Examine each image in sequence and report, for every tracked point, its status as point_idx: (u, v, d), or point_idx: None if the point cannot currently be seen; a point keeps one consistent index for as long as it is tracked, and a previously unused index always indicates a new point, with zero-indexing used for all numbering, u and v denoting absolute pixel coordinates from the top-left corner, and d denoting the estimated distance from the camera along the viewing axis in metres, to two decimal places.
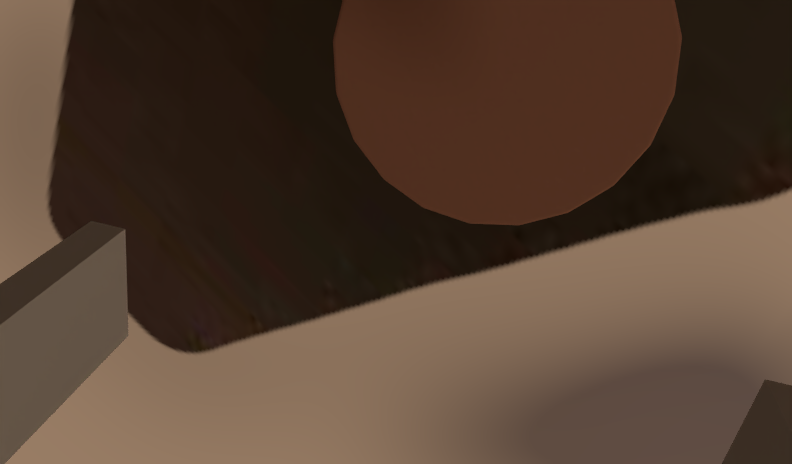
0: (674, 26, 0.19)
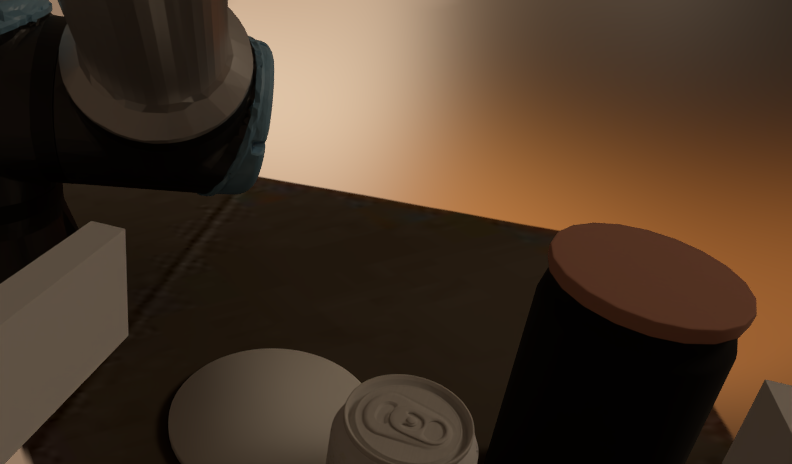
0: (640, 229, 0.40)
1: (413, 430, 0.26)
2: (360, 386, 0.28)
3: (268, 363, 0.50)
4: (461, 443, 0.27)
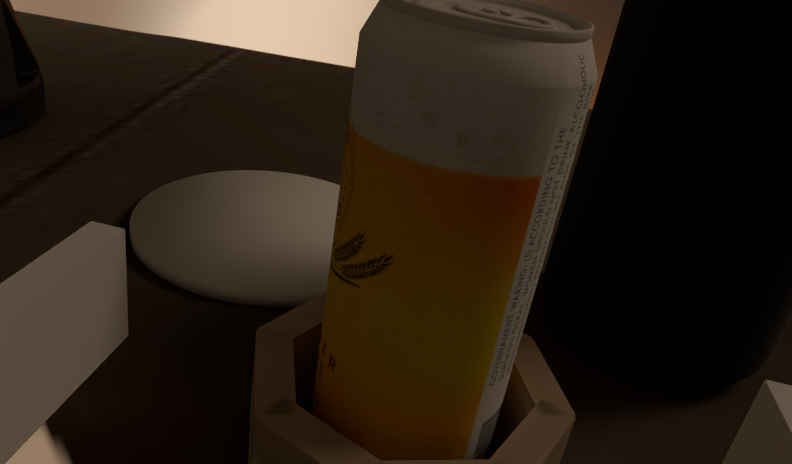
0: None
1: (497, 15, 0.16)
2: None
3: (261, 182, 0.40)
4: None
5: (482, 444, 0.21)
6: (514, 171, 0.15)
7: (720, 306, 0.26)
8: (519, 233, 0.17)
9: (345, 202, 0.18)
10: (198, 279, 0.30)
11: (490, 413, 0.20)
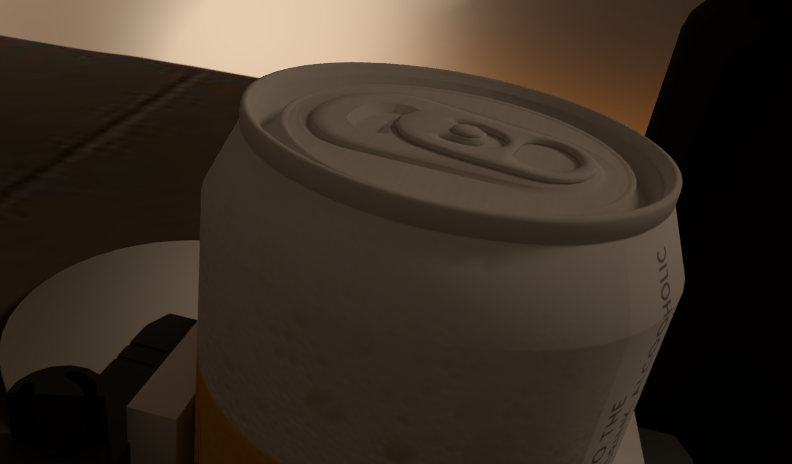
0: None
1: (478, 149, 0.08)
2: (308, 68, 0.09)
3: (195, 258, 0.32)
4: (636, 195, 0.08)
5: None
6: None
7: None
8: None
9: None
10: None
11: None
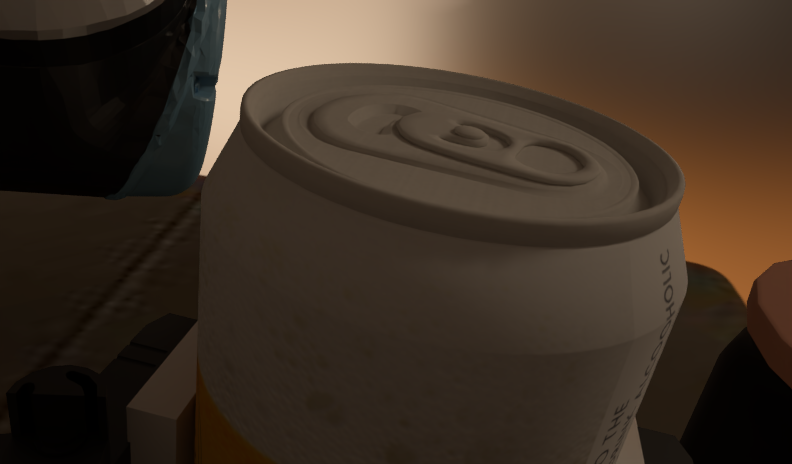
0: None
1: (481, 150, 0.08)
2: (308, 69, 0.09)
3: None
4: (639, 197, 0.08)
5: None
6: None
7: None
8: None
9: None
10: None
11: None
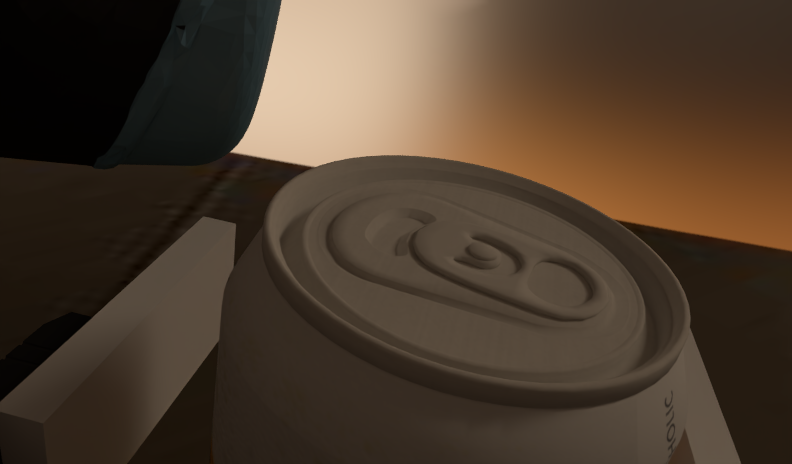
0: None
1: (494, 277, 0.08)
2: (325, 168, 0.10)
3: None
4: (645, 323, 0.08)
5: None
6: None
7: None
8: None
9: None
10: None
11: None
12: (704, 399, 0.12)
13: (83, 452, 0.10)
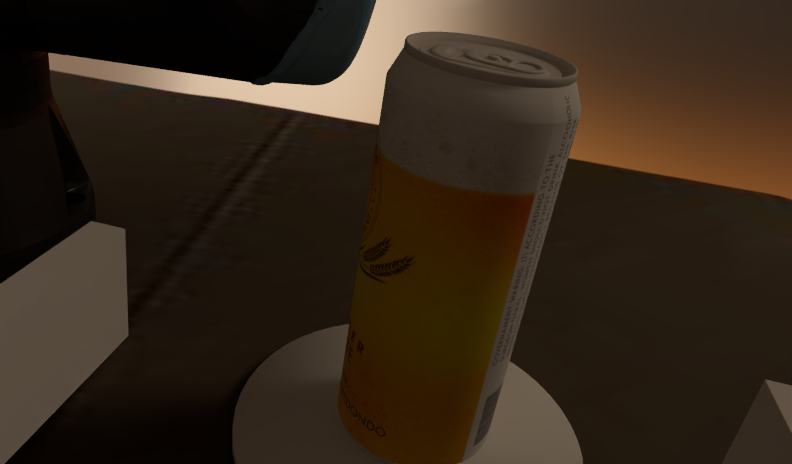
0: None
1: (499, 62, 0.20)
2: (422, 33, 0.22)
3: None
4: None
5: (486, 416, 0.24)
6: (513, 189, 0.19)
7: None
8: (517, 239, 0.20)
9: (373, 213, 0.21)
10: None
11: (493, 389, 0.24)
12: None
13: None
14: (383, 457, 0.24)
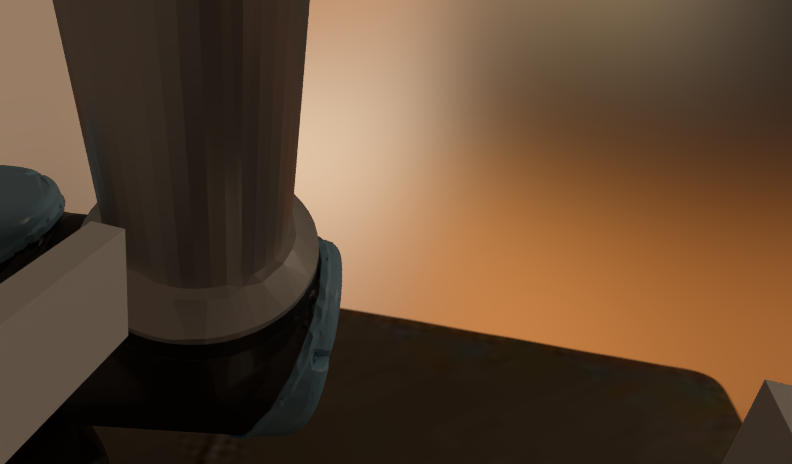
0: None
1: None
2: None
3: None
4: None
5: None
6: None
7: None
8: None
9: None
10: None
11: None
12: None
13: None
14: None
